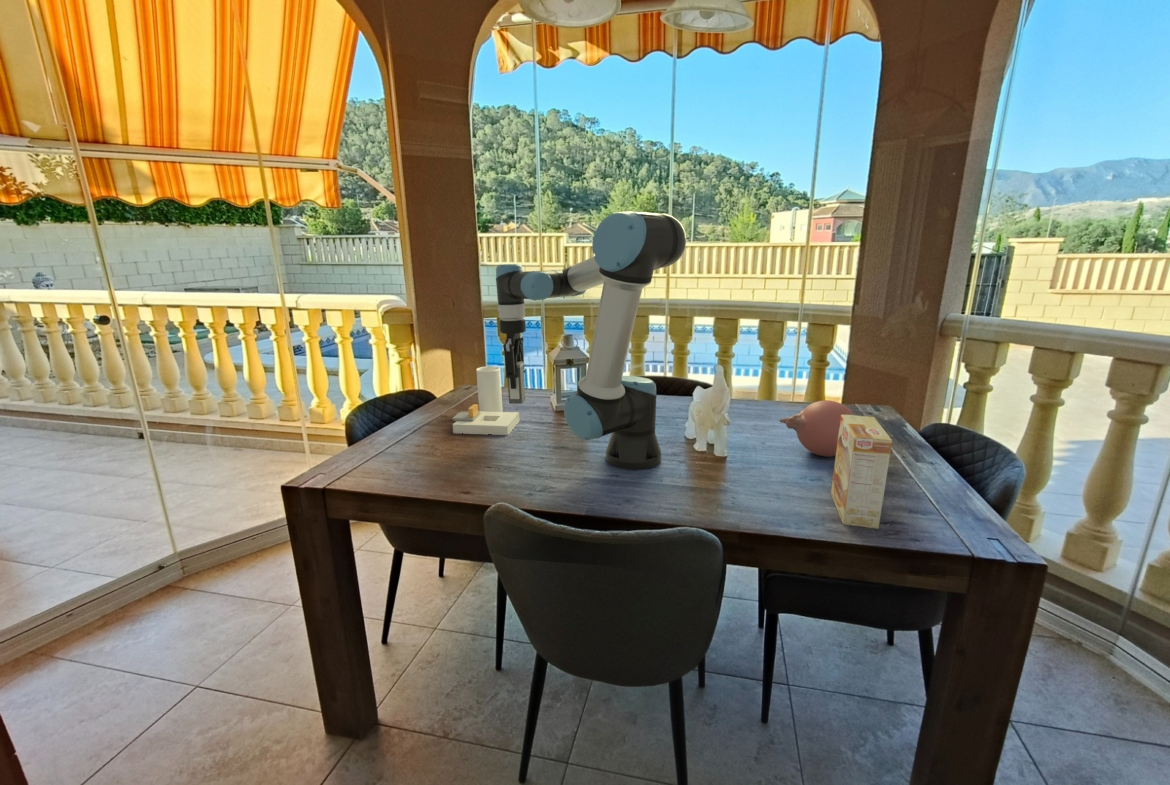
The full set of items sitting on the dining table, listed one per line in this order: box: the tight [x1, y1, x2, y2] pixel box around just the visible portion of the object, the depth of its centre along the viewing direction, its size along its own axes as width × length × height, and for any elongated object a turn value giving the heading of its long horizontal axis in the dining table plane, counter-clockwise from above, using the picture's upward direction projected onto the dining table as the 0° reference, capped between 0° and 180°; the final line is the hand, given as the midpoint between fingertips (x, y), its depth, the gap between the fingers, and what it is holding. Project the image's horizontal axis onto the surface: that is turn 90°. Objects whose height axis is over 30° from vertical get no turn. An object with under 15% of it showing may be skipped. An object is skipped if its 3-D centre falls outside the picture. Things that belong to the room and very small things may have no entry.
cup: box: [475, 365, 504, 412], centre depth 180 cm, size 8×8×16 cm
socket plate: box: [452, 410, 520, 436], centre depth 166 cm, size 18×14×3 cm
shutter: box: [451, 403, 480, 422], centre depth 166 cm, size 7×7×4 cm
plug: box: [506, 362, 526, 405], centre depth 151 cm, size 4×4×12 cm
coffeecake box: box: [830, 414, 893, 530], centre depth 108 cm, size 15×7×20 cm, turn 163°
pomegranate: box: [779, 399, 855, 458], centre depth 139 cm, size 15×20×15 cm
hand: (517, 396), depth 152 cm, fingers closed on plug, 4 cm apart
